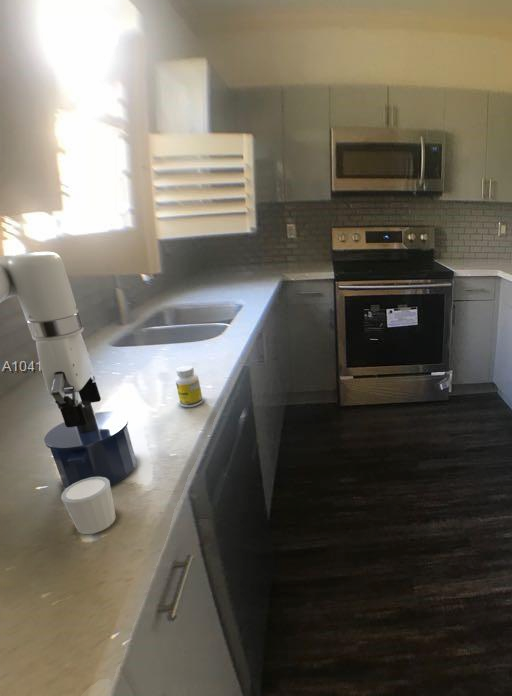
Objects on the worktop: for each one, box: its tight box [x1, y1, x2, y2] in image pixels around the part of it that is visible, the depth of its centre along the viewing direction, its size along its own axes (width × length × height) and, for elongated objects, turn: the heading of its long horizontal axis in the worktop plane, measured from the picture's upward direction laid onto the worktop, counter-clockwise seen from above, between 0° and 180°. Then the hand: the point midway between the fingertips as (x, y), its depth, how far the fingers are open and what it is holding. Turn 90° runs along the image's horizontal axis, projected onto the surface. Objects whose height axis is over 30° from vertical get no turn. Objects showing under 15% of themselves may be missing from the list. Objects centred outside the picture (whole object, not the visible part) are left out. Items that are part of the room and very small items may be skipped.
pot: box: [50, 426, 137, 490], centre depth 89 cm, size 13×18×10 cm
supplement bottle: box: [175, 365, 204, 408], centre depth 117 cm, size 5×5×10 cm
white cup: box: [60, 477, 116, 535], centre depth 76 cm, size 7×7×7 cm
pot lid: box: [43, 400, 129, 451], centre depth 86 cm, size 14×14×6 cm
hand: (84, 413), depth 86 cm, fingers open, 9 cm apart
